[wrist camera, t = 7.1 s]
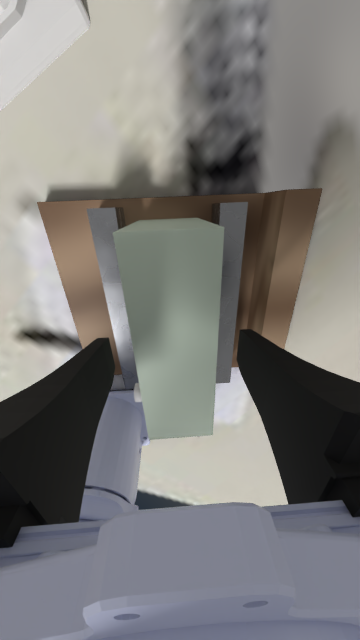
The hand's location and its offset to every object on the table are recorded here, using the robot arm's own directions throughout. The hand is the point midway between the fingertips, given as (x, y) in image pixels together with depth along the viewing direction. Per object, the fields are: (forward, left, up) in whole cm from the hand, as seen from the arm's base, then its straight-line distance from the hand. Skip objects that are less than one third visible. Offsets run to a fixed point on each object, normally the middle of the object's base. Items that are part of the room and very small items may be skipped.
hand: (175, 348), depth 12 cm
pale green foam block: (0, 0, -7) cm, 7 cm away
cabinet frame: (0, 0, -8) cm, 8 cm away
